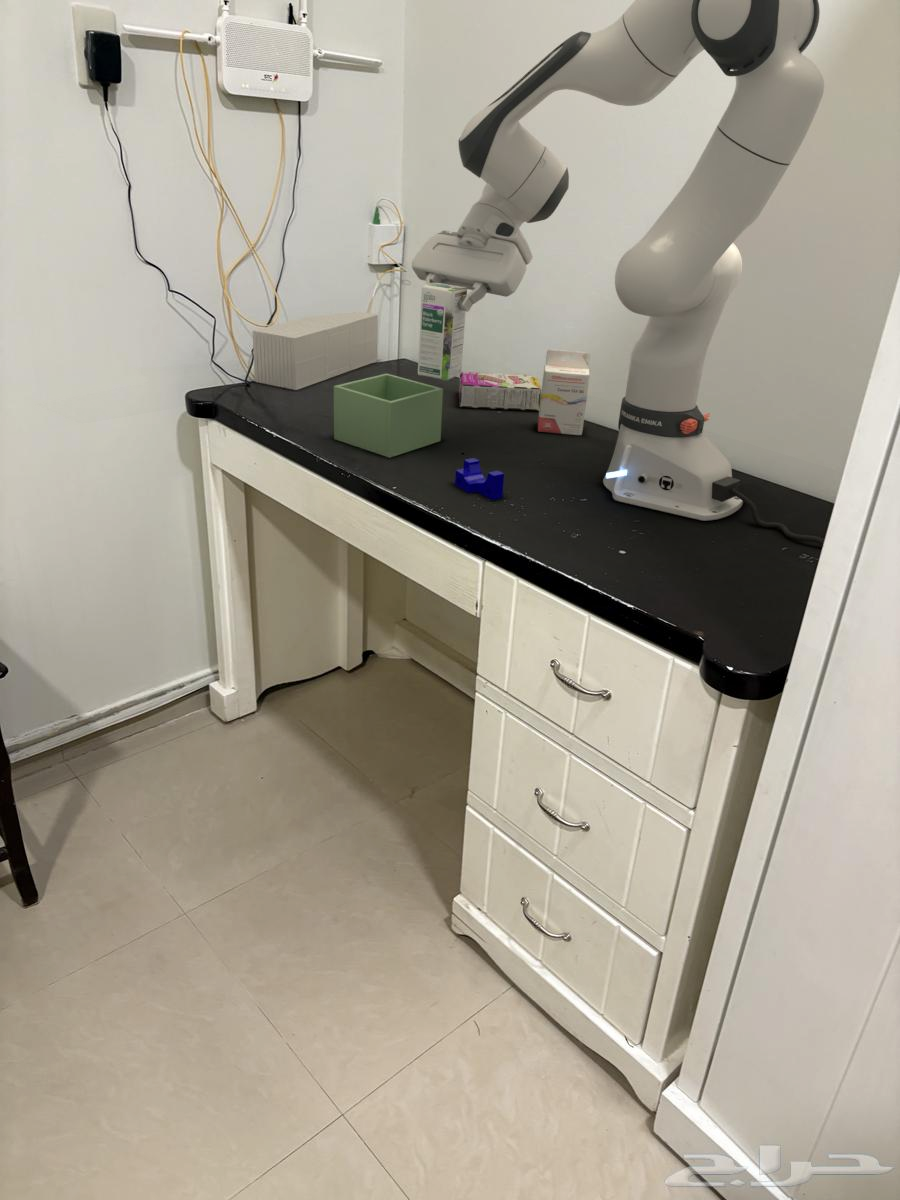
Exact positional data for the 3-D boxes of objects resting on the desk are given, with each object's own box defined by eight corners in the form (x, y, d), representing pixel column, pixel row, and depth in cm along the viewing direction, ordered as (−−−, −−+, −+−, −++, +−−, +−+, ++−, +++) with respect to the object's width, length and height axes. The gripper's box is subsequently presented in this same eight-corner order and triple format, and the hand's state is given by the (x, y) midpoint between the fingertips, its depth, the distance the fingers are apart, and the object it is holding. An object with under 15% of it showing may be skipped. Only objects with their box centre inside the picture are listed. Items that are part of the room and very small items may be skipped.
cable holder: (454, 484, 149) (456, 461, 147) (472, 481, 151) (474, 458, 149) (484, 501, 144) (485, 477, 142) (502, 497, 145) (504, 473, 144)
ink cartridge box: (537, 432, 176) (545, 354, 169) (537, 424, 180) (545, 348, 174) (582, 436, 176) (592, 357, 169) (581, 428, 180) (591, 351, 173)
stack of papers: (294, 338, 188) (252, 330, 192) (296, 390, 193) (254, 381, 197) (378, 314, 214) (338, 308, 218) (377, 361, 219) (339, 354, 223)
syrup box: (416, 375, 156) (420, 285, 149) (433, 368, 160) (437, 280, 153) (446, 381, 153) (451, 290, 147) (462, 374, 158) (468, 285, 151)
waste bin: (440, 441, 169) (443, 388, 164) (389, 457, 159) (390, 402, 155) (385, 423, 176) (386, 373, 172) (333, 439, 167) (333, 385, 162)
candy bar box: (459, 369, 195) (537, 374, 196) (458, 393, 198) (534, 397, 198) (460, 383, 185) (542, 388, 186) (459, 408, 188) (540, 412, 188)
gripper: (429, 216, 157) (388, 282, 155) (527, 231, 146) (485, 302, 144) (444, 242, 162) (405, 306, 160) (541, 258, 151) (500, 327, 149)
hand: (444, 304), depth 152 cm, fingers closed on syrup box, 6 cm apart
